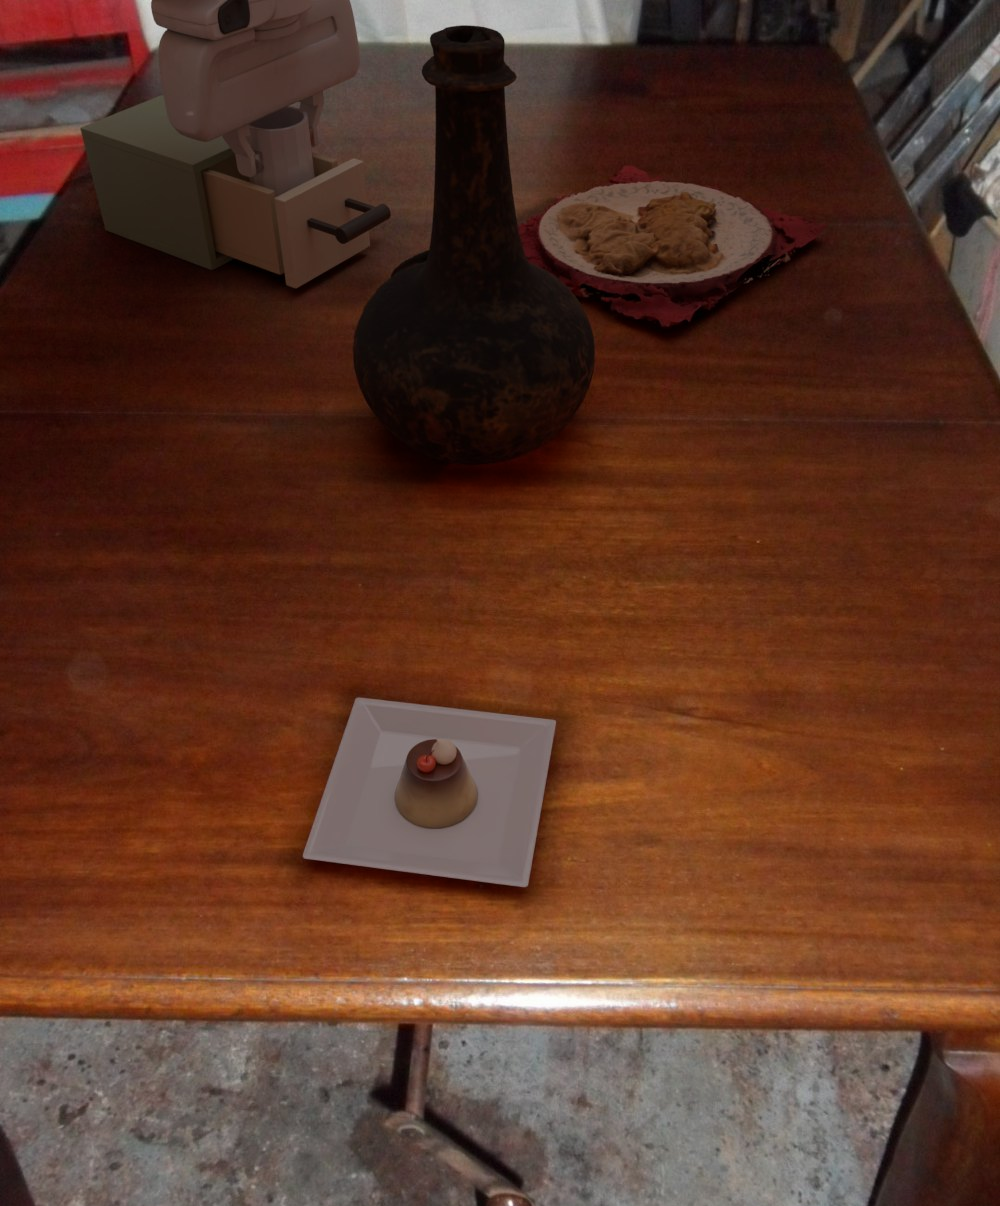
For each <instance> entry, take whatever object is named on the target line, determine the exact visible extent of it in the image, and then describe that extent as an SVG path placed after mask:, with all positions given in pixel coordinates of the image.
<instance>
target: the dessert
mask: <svg viewBox="0 0 1000 1206" xmlns="http://www.w3.org/2000/svg"><path fill="white" fill-rule="evenodd" d="M556 726H557V721H556V720H555V719H552V718H551V719H550V718H542V717H541V718H540V717H534V716H533V717H532V716H524V715H517V714H516V715H514V714H507V713H498V712H490V711H481V710H472V709H464V708H463V709H462V708H456V707H455V708H454V707H445V706H439V705H430V704H429V705H428V704H419V703H411V702H404V701H403V702H402V701H394V700H384V699H378V698H377V699H376V698H368V697H356V698H355V699H354V703H353V706H352V708H351V711H350V714H349V717H348V719H347V723H346V726H345V729H344V732H343V734H342V738H341V741H340V744H339V746H338V750H337V753H336V756H335V758H334V762H333V764H332V767H331V770H330V773H329V775H328V779H327V782H326V785H325V788H324V790H323V793H322V796H321V799H320V803H319V805H318V808H317V811H316V814H315V818H314V820H313V823H312V826H311V828H310V829H311V830H310V831H309V835H308V838H307V841H306V844H305V847H304V850H303V853H302V858H303V859H306V860H312V861H321V862H328V863H336V864H344V865H351V866H359V867H364V868H365V867H366V868H373V869H374V868H375V869H382V870H389V871H397V872H404V873H411V874H420V875H426V876H427V875H429V876H435V877H444V878H449V879H450V878H451V879H457V880H458V879H459V880H466V881H474V882H480V883H481V882H482V883H490V884H496V885H504V886H505V885H506V886H512V887H520V888H527V887H528V886H529V882H530V876H531V870H532V866H533V865H532V864H533V858H534V853H535V846H536V842H537V835H538V830H539V823H540V820H541V819H540V818H541V812H542V808H543V800H544V795H545V789H546V784H547V777H548V772H549V767H550V762H551V761H550V760H551V754H552V749H553V743H554V738H555V733H556Z"/></svg>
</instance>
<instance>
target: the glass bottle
mask: <svg viewBox="0 0 1000 1206" xmlns="http://www.w3.org/2000/svg"><path fill="white" fill-rule="evenodd" d="M429 43H430V45H431V48H432V56H431V57H430V58H429V59H427V61H425V63H424V64H423V66H422V68H421V75H422V77H423V79H424V80H425V82H426V83H428V84H429V85H431V86H434V90H435V93H434V94H435V100H434V101H435V102H434V103H435V104H434V105H435V108H434V109H435V111H434V112H435V134H434V135H435V141H434V142H435V144H434V145H435V146H434V187H433V205H432V206H433V208H432V209H433V210H432V223H431V233H430V240H429V241H430V242H429V249H427V250H424V251H423V252H420V253H417V254H414V255H413V256H412V257H409V258H407V259H405V260H404V261H402V262H401V263H400V264H398V266H396V267H394V269H393V270H392V272H391V273H390V277H389V278H388V279H386V280H385V281H384V282H383V283H382V284H381V285H380V286H379V287H378V288H377V289H376V291H375V292H374V293H373V295H372V296H371V297H370V298H369V299H368V301H367V302H366V304H365V305H364V307H363V309H362V310H363V311H362V313H361V315H360V317H359V319H358V322H357V324H356V327H355V330H354V333H353V345H352V358H353V367H354V374H355V375H356V381H357V383H358V386H359V387H358V388H359V389H360V391H361V394H362V396H363V398H364V400H365V401H366V403H367V406H368V407H369V409H370V410H371V411H372V413H373V414H374V416H375V417H376V418H377V420H378V421H379V422H380V423H381V425H383V426H384V427H385V429H386V430H388V431H389V433H391V434H392V435H393V436H394V437H395V438H397V440H399V441H400V442H402V443H403V444H405V446H406V447H409V448H410V449H412V450H414V451H415V452H417V453H420V454H421V455H424V456H426V457H429V458H432V459H433V460H437V461H441V462H444V463H449V464H455V465H461V466H462V465H463V466H483V465H492V464H497V463H503V462H507V461H512V460H515V459H516V458H520V457H523V456H525V455H527V454H529V453H531V452H533V451H535V450H538V449H539V448H541V447H542V446H544V445H546V444H547V443H548V442H549V441H551V440H553V438H555V437H556V436H557V435H558V434H559V433H560V432H561V431H563V429H565V427H566V426H567V425H568V424H569V423H570V422H571V420H572V419H573V418H574V416H575V415H576V413H577V411H579V409H580V408H581V405H582V404H583V402H584V400H585V398H586V396H587V393H588V391H589V389H590V387H591V384H592V379H593V375H594V371H595V370H594V369H595V363H596V347H595V346H596V345H595V338H594V333H593V329H592V326H591V323H590V320H589V317H588V314H587V313H586V311H585V309H584V307H583V305H582V304H581V302H580V301H579V299H578V298H577V296H576V297H575V295H574V294H573V293H572V292H571V290H570V289H569V288H568V287H567V286H566V285H565V284H564V283H562V282H561V281H560V280H559V279H558V278H557V277H555V276H554V275H553V274H551V273H549V272H548V271H546V270H545V269H543V268H541V267H539V266H537V265H534V264H532V263H530V262H528V260H527V258H526V255H525V252H524V249H523V246H522V241H521V238H520V234H519V229H518V224H519V223H518V219H517V212H516V204H515V200H514V192H513V182H512V175H511V174H512V173H511V166H510V154H509V152H510V151H509V142H508V127H507V110H506V90H505V87H508V86H510V85H512V84H513V83H514V82H515V81H516V80H517V77H518V76H517V74H516V72H515V71H513V70H512V68H510V66H509V65H508V64H507V63H506V62H505V48H506V47H505V46H506V45H505V44H506V42H505V38H504V36H503V35H502V33H501V32H499V31H498V30H496V29H493V28H489V27H486V26H479V25H466V24H465V25H463V24H462V25H453V26H448V27H447V26H446V27H445V28H443V29H440V30H438V31H435V32H433V33H431V34H430V37H429Z"/></svg>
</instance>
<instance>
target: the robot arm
mask: <svg viewBox="0 0 1000 1206" xmlns="http://www.w3.org/2000/svg"><path fill="white" fill-rule="evenodd" d="M150 10H151V15H152V18H153V21H154V23H155V24H156V25H157V26H158V27H161V28H164V29H165V31H164V32H163V34H162V35H161V37H160V40H159V44H158V52H157V53H158V54H157V55H158V67H159V76H160V84H161V90H162V95H163V96H164V101H165V106H166V111H167V115H168V119H169V121H170V123H171V125H172V126H173V127H174V128H175V130H176V131H177V132H178V133H179V134H181V135H183V136H186V137H188V138H191V139H195V140H198V141H202V142H208V141H211V140H213V139H215V138H218V137H220V136H222V137H223V139H224V140H225V141H226V143H227V144H228V145H229V147H230V148H231V150H232V151H233V152H234V153H235V156H236V162H237V168H238V171H239V173H240V174H241V175H244V176H247V177H253V176H255V175H257V174H259V173H261V172H263V170H264V165H263V164H262V161H263V157H262V152H260V151H256V150H253V149H252V148H251V146H250V145H249V143H248V141H247V140H246V137H248V136H250V128H249V123H251V122H253V121H256V120H258V119H260V118H262V117H265V116H267V115H269V114H271V113H274V112H276V111H278V110H280V109H283V108H285V107H287V106H292V105H295V104H296V103H299V107H298V108H299V109H302V110H303V111H305V112H306V113H307V115H308V123H309V132H310V141H311V149H313V148H314V147H317V146H318V145H319V133H318V126H319V123H320V119H321V115H322V112H323V108H324V104H325V98H324V97H325V96H324V91H326V90H328V89H330V88H332V87H335V86H337V85H339V84H341V83H343V82H346V81H349V80H350V79H352V78H354V77H355V76H357V73H358V70H359V66H360V63H361V54H360V47H359V46H360V45H359V38H358V32H357V26H356V20H355V15H354V11H353V6H352V3H351V0H151V1H150Z"/></svg>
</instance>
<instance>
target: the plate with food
mask: <svg viewBox="0 0 1000 1206" xmlns="http://www.w3.org/2000/svg"><path fill="white" fill-rule="evenodd" d="M659 173H660V174H661V171H660V172H659ZM608 179H609V180H608V181H609V182H608V183H605V184H600V185H594V186H591V188H587V190H586V191H584V192H576V193H574V192H573V193H569V194H568V195H562V197H560V198H558V197H556V198H554V203H553V204H551V205H548V206H546V207H544V212H543V213H540V214H536V215H531V216H530V219H527V220H526V222H525V223H524V222H521V223H520V224H519V225H518V229H519V234H520V238H521V241H522V246H523V249H524V252H525V255H526V258H527V260H528V262H530V263H532V264H534V265H537V266H539V267H541V268H543V269H545V270H546V271H548V272H549V273H551V274H553V275H554V276H555V277H557V278H558V279H559V280H560V281H561V282H562V283H564V284H565V285H566V286H567V287H568V288H569V289H570V290H571V292H572V293H573V294H574V295H575V297H576V298H577V297H578V298H583V299H586V298H589V297H590V296H593V295H594V293H596V294H597V295H600V294H601V293H600V292H598V291H603V292H606V294H603V295H602V296H600V301H603V302H606V303H610V302H611V304H610V310H611V312H617V313H618V314H620V315H621V314H622V315H623V316H624V317H626V318H633V319H635V320H643V319H647V321H648V322H652V321H654V322H653V324H656V321H658V323H659V325H660V327H661V328H669V327H671V326H675V325H679V324H680V323H681V322H683V321H684V320H685V321H687V322H688V323H689V322H691V320H692V318H693V315H694V313H695V312H696V311H698V310H699V309H700V308H702V309H703V310H707V311H711V309H712V308H716V305H718V302H719V300H721V299H723V298H724V296H725V297H727V296H728V295H729V294H731V293H733V292H734V291H735V290H736V289H738V288H739V287H740V286H741V285H742V284H744V285H745V284H749V283H750V281H751V282H753V281H754V278H753V277H751V276H750V277H749V276H747V277H745V278H743V279H742V280H739V279H740V278H741V276H742V275H743V274H744V273H746V272H747V271H748V270H749V269H750V268H751V267H752V266H753V265H755V264H757V263H759V262H760V261H761V263H760V265H761V266H762V267H761V269H762V271H763V272H762V273H760V274H758V275H757V277H758V278H760V279H761V278H762V276H763V274H764V276H765V277H766V276H768V277H769V276H770V275H771V274H770V273H769V271H770V269H772V268H774V267H776V266H777V265H779V266H781V264H788V262H789V261H791V257H793V254H795V253H796V250H798V251H799V249H801V248H802V247H804V246H806V245H807V244H809V243H810V242H812V241H813V240H815V239H816V238H817V237H818V236H820V234H821V233H822V232H824V230H825V228H826V225H827V224H826V223H825V221H823V222H821V223H820V224H819V223H818V222H817V220H816V219H814V218H813V219H809V220H805V216H803V215H794V216H790V215H788V214H785V213H782V212H780V211H779V210H778V209H776V210H775V211H773V210H771V207H770V206H767V207H765V208H764V209H762V208H761V206H759V205H758V202H753V201H752V200H750V199H747V198H742V197H741V196H740V195H731V194H728V193H727V192H725V190H724V191H721V189H720V188H718V186H717V185H714V186H713V185H708V184H704V185H702V184H701V183H697V184H695V183H692V182H688V181H685V182H682V181H668V182H666V181H664V180H663V179H662V178H661V177H660V176H657V177H655V178H654V177H653V178H650V176H649V174H648V172H646V171H645V170H641V169H639V168H638V167H636V166H635V165H624V166H623V167H622V168H621V170H620V171H619V172H618V173H617V172H613V177H612V176H610V177H609V178H608ZM765 273H769V274H765ZM738 280H739V281H738ZM581 285H586V286H589V288H594V289H596V290H598V291H594V293H593V292H592V291H590V290H587V287H586V286H581ZM609 293H610V294H609ZM630 294H631V295H632V294H633V295H635V294H636V295H637V297H639V299H638V298H635V299H632V300H626V298H623V295H630Z"/></svg>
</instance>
